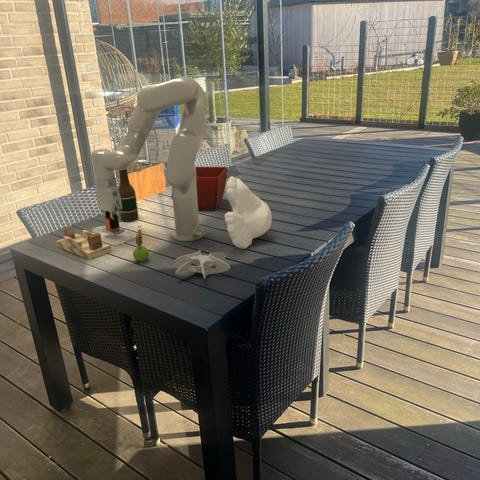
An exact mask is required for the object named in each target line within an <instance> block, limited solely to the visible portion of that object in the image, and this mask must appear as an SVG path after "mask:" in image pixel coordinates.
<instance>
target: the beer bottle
mask: <svg viewBox="0 0 480 480" xmlns="http://www.w3.org/2000/svg"><path fill="white" fill-rule="evenodd" d="M118 172H119V187H118V190H119V193H120V197H121V202H122V210H121V212H122V214H120V215H119V216H120V221H121V222H123V223H131V222H136V221H137V220H138V219H139V212H138V211H139V210H138V204H137V195H136V191H135V189H134V187H133V186H132V184H131V182H130V179H129V174H128V168H127V169H125V170H118Z"/></svg>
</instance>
